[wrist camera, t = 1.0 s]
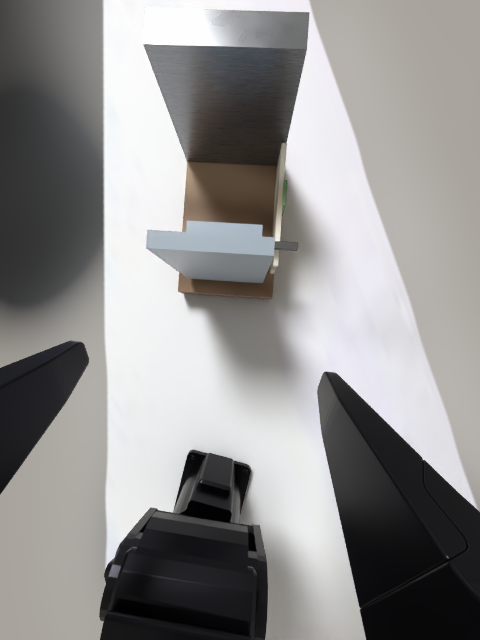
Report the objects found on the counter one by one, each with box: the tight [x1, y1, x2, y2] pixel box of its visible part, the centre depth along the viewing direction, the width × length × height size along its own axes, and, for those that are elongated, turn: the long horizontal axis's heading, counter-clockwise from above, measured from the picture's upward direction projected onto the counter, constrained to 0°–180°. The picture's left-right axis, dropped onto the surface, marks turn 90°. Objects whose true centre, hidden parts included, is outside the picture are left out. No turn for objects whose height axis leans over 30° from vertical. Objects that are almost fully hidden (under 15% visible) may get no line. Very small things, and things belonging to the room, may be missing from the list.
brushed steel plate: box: [143, 8, 309, 166], centre depth 17 cm, size 2×9×10 cm, turn 86°
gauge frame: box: [178, 143, 287, 299], centre depth 21 cm, size 14×9×5 cm, turn 176°
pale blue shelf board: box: [146, 221, 298, 283], centre depth 17 cm, size 4×9×9 cm, turn 86°
